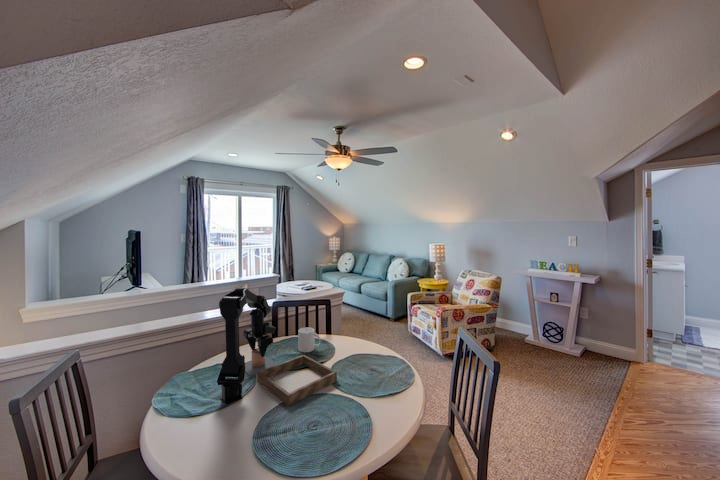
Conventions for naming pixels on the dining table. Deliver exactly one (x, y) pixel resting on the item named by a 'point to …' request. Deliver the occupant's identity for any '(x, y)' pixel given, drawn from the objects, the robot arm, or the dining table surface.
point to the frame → (299, 393)
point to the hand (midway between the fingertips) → (258, 353)
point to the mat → (253, 371)
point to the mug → (307, 339)
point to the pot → (257, 359)
